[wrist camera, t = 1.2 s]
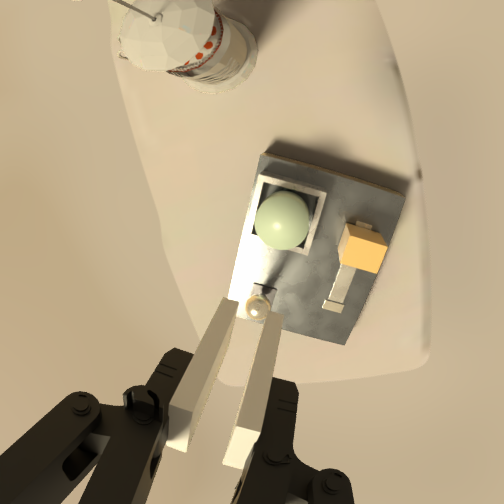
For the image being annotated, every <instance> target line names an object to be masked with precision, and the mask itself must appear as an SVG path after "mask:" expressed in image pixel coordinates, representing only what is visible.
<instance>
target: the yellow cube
mask: <svg viewBox="0 0 504 504" xmlns="http://www.w3.org/2000/svg"><path fill="white" fill-rule="evenodd" d="M387 248H388V246H387V245H386V243H385V241H384V239H383V237H382V235H381V234H380V233H378V232H375V231H371V230H368V229H365V228H362V227H358V226H355V225H352V224H349V223H346V225H345V228H344V231H343V234H342V237H341V240H340V243H339V245H338V254H339V260H340V263H341V264H344V265H348V266H351V267H355V268H358V269H362V270H365V271H369V272H372V273H376V274H377V273H378V270H379V268H380V265H381V263H382V260H383V258H384V255H385V253H386V250H387Z"/></svg>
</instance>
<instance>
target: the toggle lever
mask: <svg viewBox="0 0 504 504" xmlns="http://www.w3.org/2000/svg"><path fill="white" fill-rule="evenodd" d="M245 310H246V313H247V315H248V316H249V317H250V318H252V319H255V320H262V319H264V318H266V315H267V312H268V310H269V311H271V303H270V301H269V299H268V298H267V296H266V295H265V294H264V293H259V294H255V295H252V296H251V297H249V298H248V300H247V301H246V304H245Z"/></svg>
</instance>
